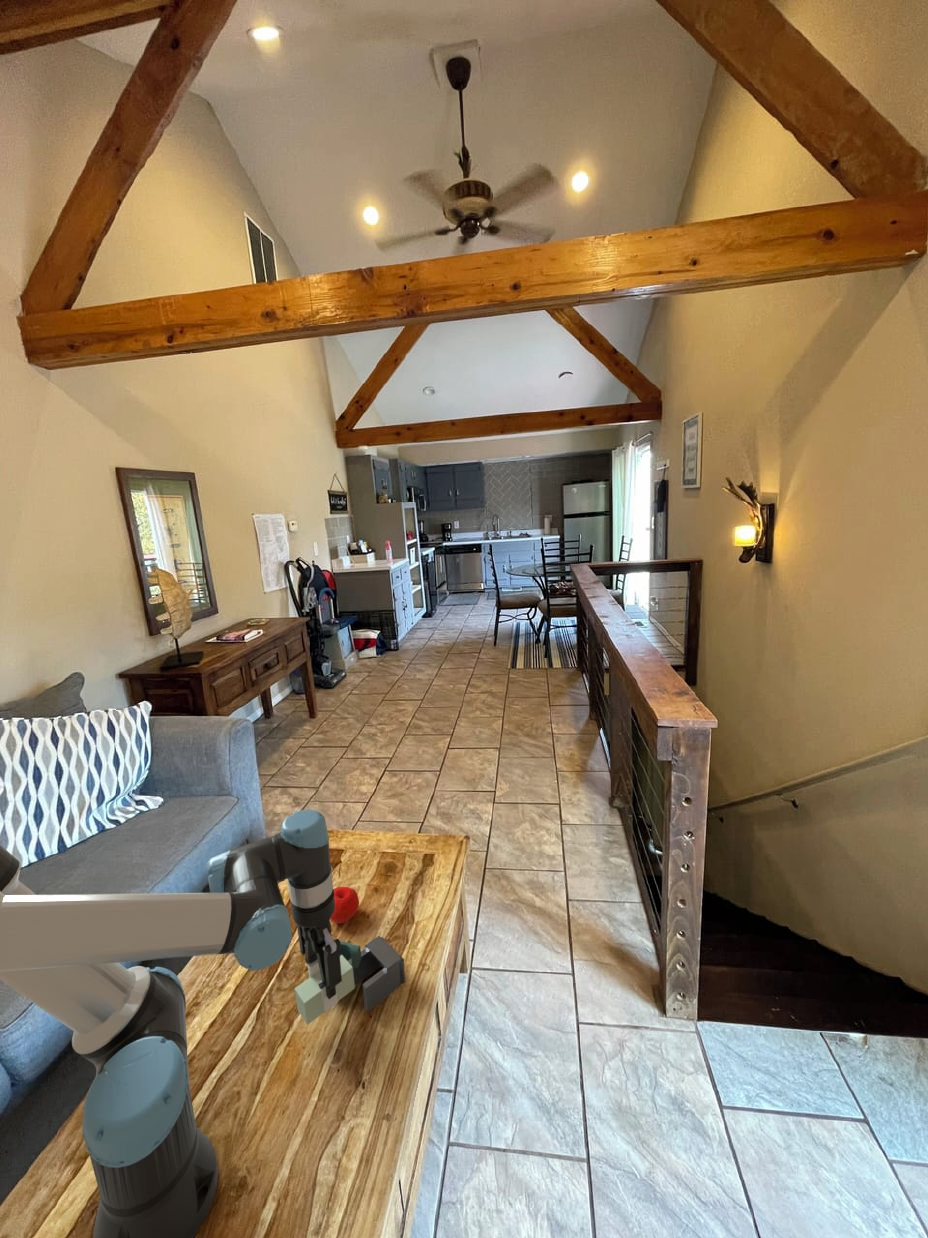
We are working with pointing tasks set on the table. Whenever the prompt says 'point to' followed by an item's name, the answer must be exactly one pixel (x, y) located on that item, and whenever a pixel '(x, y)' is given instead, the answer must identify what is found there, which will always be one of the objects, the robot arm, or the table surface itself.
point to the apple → (344, 904)
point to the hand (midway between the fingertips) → (324, 998)
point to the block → (311, 993)
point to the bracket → (351, 953)
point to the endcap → (384, 980)
